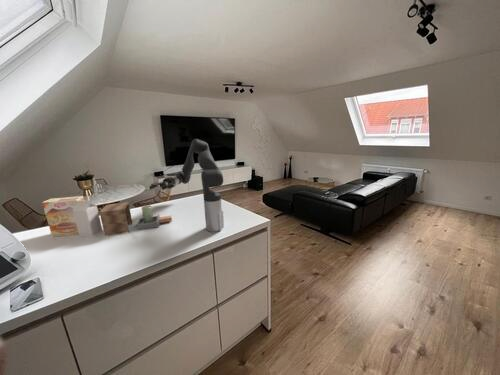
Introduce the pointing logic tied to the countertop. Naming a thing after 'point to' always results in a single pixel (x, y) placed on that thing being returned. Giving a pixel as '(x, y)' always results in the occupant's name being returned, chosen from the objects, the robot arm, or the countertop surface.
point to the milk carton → (87, 219)
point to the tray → (156, 222)
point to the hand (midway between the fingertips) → (156, 188)
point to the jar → (147, 214)
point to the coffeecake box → (61, 215)
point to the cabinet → (116, 218)
